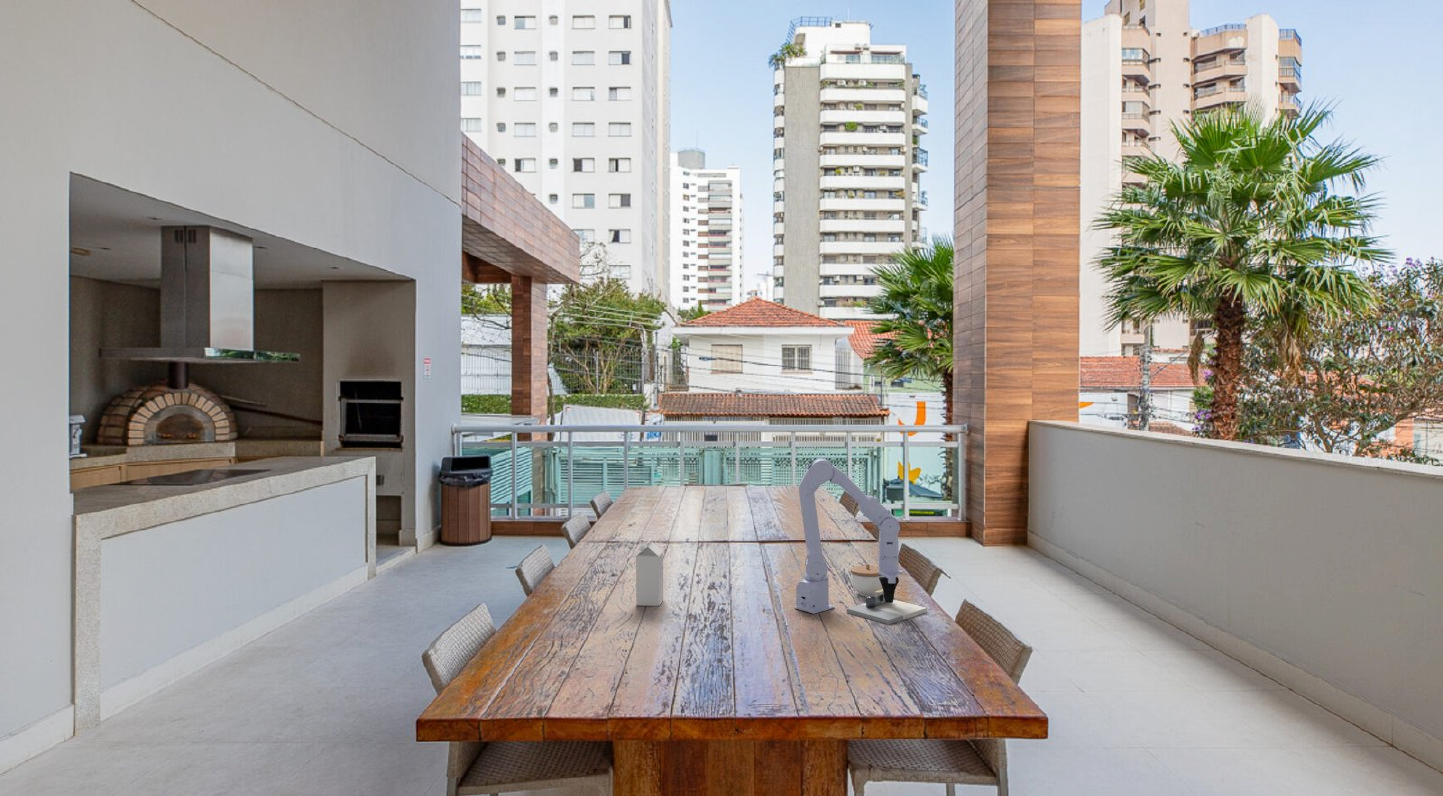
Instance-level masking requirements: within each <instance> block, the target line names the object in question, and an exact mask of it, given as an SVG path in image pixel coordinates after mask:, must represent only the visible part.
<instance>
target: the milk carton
mask: <svg viewBox="0 0 1443 796" xmlns="http://www.w3.org/2000/svg"><path fill="white" fill-rule="evenodd" d="M638 549H639V553H637V554H636V555H635V600H636V601H635V605H636V606H642V607H643V606H645V607H646V606H647V607H648V606H649V607H650V606H651V607H660V606H661V604H662V603H663V601H664V551H663V549H660V547H658V546H657V545H656V544H655V543H654V542H653V538H650V540H648V542H646V545H645V543H643V544H642V545H641V546H639V547H638Z"/></svg>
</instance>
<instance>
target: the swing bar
mask: <svg viewBox="0 0 1443 796" xmlns="http://www.w3.org/2000/svg"><path fill="white" fill-rule="evenodd" d="M865 603H866V607H868V608H875V607H876V606H878V605H881V604H884V603H886V602H885V599H884V594H883V592H879V593H876V594H873V595H870V596H865Z"/></svg>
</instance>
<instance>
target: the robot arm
mask: <svg viewBox="0 0 1443 796" xmlns="http://www.w3.org/2000/svg"><path fill="white" fill-rule="evenodd" d="M827 482H829V483H830V484H834V485H839V486H840V487H841V488H842V489H843V490H844V491H845V492H846V493H847V494H849V495H850V496H851V497H852V498H853V499H854V500H855V501H856V502H857V504H858V510H859V511H860V512H861V513H862V514H863V515H864V516H865V518H867V519H868V520H869V522H871V523H872V524H873V525H874V526H876V527H877V529H878V530H879V531H878V534H879V535H878V536H879V537H878V538H879V539H878V567H879V570H878V574H880V575H882V576H884V577H879V580H880V582H881V585H882V590H883V594H884V599H885V602H886V603H893V599H894V600H895V598H894V597H895V593H896V588H897V586H898V585H899V583H900V580H899V577H898V576H899V575H903V574H904V573H903V572H904V571H903V570H901V569H900V567H899V563H900V562H899V532H900V530H901V526H900V522H899V521H898V519H897V518H896V517H895V516H894V514H892V511H891V510H890V509H887V508H886V507H885V506H883V504H882V503H881V501H880V499H879V497H877V496H874V495H872V494H871V495H866V494H865V493H864V491H862V490H861V489H860V488H859V487H858V486H857V485H856V484H855V483H854V481H852V479H850V477H849V476H848V475H847V474H845V473H844V472H843V470H841V469H840V468H838V467H837V466H836V465H834V464H831V462H830V460H828V459H827V458H824V457H818V458H816V459H815V460H813V461H812V462H811V463H810V464H809V465H808V466H807V468H806V470H805V473H804V474H803V476H802V478H801V480H800V482H799V484H798V494H799V501H800V510H801V518H802V523H803V524H802V525H803V532H804V539H805V546H806V547H805V548H806V554H807V555H806V557H805V562H804V564H805V572H806V573H805V574H804V575H803V579H802V580H801V581H799V582H798V583H797V585H796V589H795V591H796V596H795V598H796V599H795V603H796V604H795V605H794V607H793V608H794V609H797V610H800V611H804V612H807V613H810V614H816V613H817V614H818V613H821V612H826V611H828V610H832V609H834V608H836V607H835V605H832V604H829V602H830V601H829V597H830V596H829V595H830V594H829V592H830V591H829V587H830V585H829V584H830V583H829V580H830V579H829V578H830V577H829V575H828V570H829V569H828V565H827V564H828V563H827V560H826V559H827V558H826V557H825V556H824V554H823V550H822V541H821V535H820V527H819V520H818V519H819V517H818V512H817V505H816V497H815V492H816V491H817V490H818V489H819V488H820V487H821V486H822V485H823V484H825V483H827Z"/></svg>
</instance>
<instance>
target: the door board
mask: <svg viewBox="0 0 1443 796" xmlns="http://www.w3.org/2000/svg"><path fill="white" fill-rule="evenodd" d="M879 592H883V589H882V590H878V591H875V594H876V593H879ZM846 613H848V614H849V615H850V614H851V615H854V616H857V617H861V618H865V619H867V620H872V621H875V622H879V623H883V624H886V625H892V624H894V623H898V622H900V621H903V620H907V619H910V618H912V617H915V616H919V615H923V614H925V613H928V608H927V607H925V606H920V605H917V604H913V603H909V602H905V601H901V600H897V599H895V598H894V599H893V603H884V604H881V605H878V606H876V607H875V608H868V607H866V602H865V603H860V604H857V605H853V606H850V607H846Z"/></svg>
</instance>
